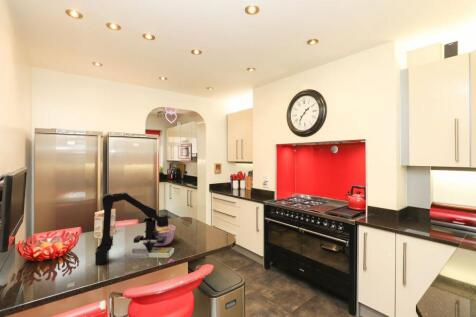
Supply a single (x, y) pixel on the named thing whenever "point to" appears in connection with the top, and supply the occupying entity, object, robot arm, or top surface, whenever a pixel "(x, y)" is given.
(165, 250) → the yellow block
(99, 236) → the coffeecake box
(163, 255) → the tray
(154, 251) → the oak chip
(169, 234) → the bowl of food
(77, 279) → the top surface
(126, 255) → the slot board
